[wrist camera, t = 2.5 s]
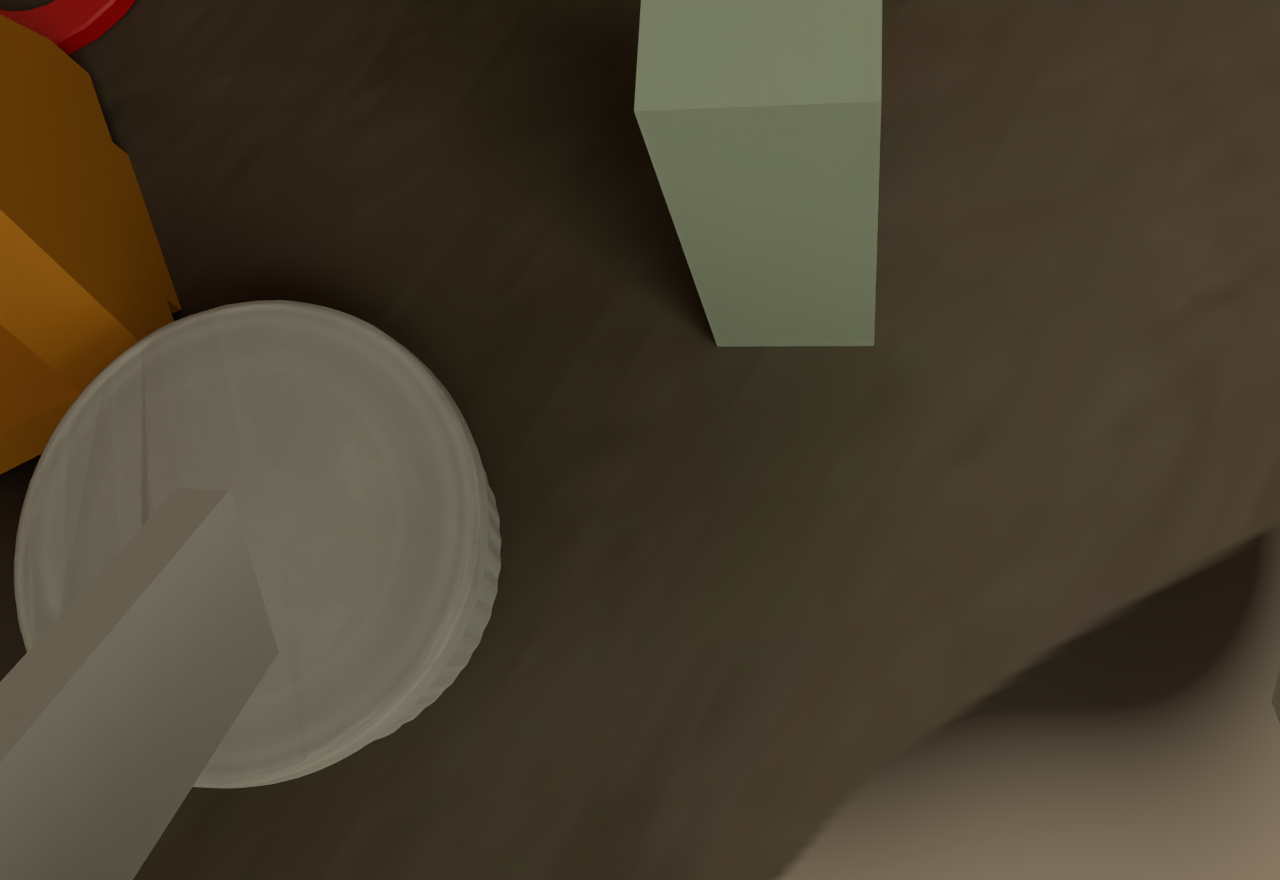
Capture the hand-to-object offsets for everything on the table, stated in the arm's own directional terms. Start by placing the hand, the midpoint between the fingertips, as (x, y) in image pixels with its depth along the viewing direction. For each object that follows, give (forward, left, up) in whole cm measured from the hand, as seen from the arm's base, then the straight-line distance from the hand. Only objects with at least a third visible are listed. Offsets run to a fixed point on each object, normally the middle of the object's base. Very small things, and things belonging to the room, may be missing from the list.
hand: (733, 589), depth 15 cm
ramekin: (-12, +2, -15) cm, 19 cm away
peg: (0, +10, -15) cm, 18 cm away
